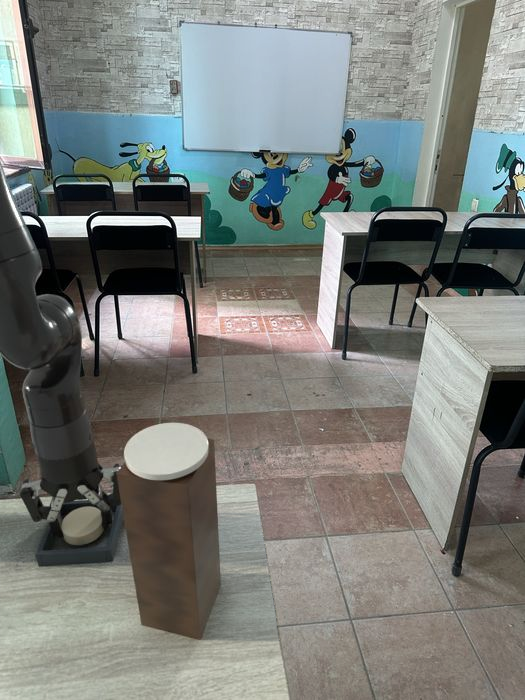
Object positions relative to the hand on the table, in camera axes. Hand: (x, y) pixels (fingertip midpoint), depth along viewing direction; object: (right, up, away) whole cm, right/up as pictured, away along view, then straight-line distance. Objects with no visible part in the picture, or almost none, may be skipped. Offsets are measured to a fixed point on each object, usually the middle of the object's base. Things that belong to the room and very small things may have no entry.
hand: (83, 529), depth 73 cm
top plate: (0, -1, 0) cm, 1 cm away
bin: (0, -2, +1) cm, 3 cm away
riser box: (+17, -7, -9) cm, 20 cm away
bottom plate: (+17, +16, -21) cm, 31 cm away
